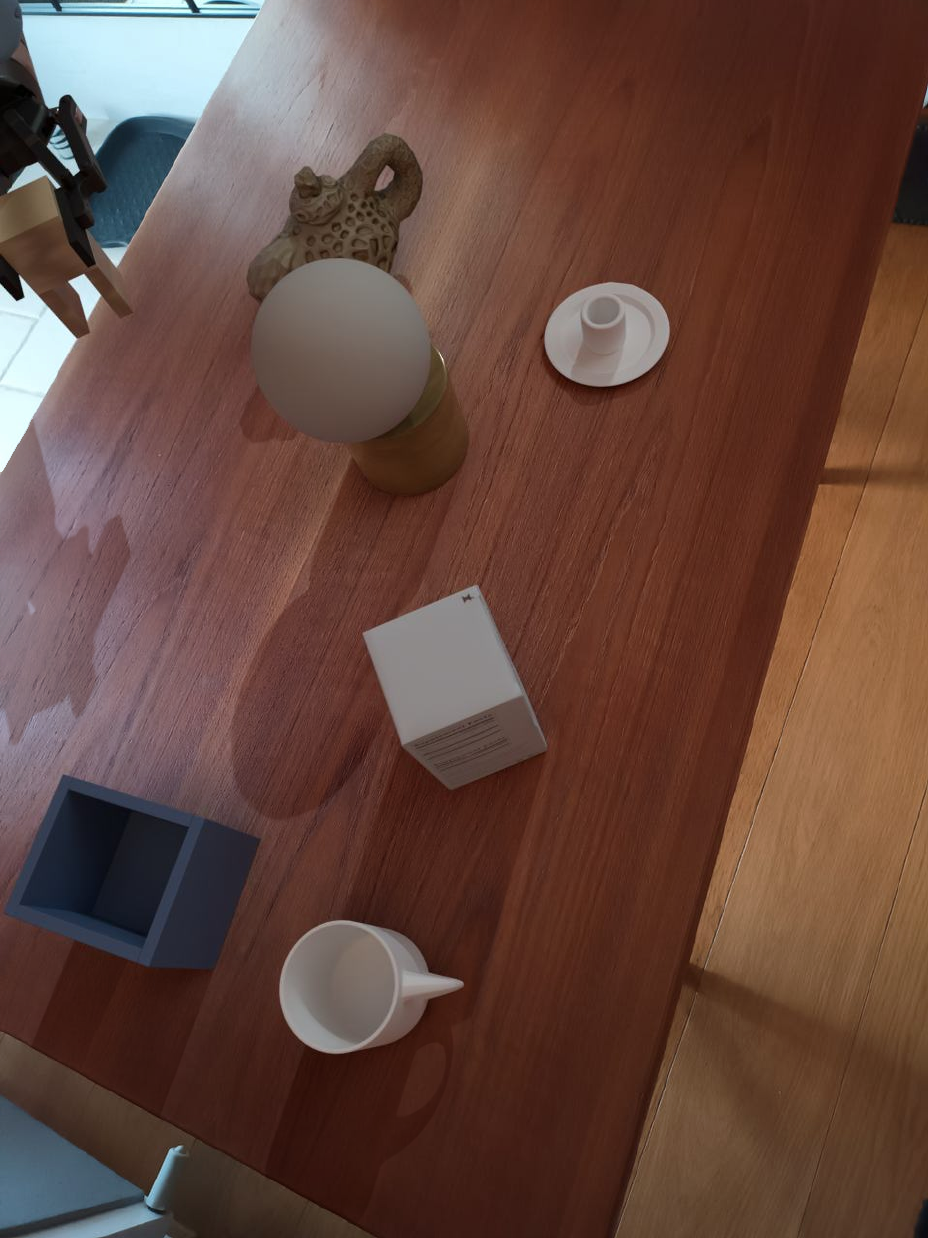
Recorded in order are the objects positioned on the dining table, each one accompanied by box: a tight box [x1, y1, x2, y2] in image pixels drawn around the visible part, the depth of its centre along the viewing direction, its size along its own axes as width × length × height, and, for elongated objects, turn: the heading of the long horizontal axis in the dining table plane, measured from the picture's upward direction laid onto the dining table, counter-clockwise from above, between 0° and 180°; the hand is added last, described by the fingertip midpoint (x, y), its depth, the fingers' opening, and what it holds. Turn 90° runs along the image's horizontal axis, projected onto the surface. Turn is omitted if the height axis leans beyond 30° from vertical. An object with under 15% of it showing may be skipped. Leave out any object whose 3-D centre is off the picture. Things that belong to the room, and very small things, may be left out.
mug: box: [278, 919, 465, 1055], centre depth 70 cm, size 9×12×11 cm
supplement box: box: [361, 584, 548, 791], centre depth 74 cm, size 10×9×17 cm
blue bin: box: [3, 773, 261, 970], centre depth 77 cm, size 13×11×11 cm
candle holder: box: [543, 281, 671, 388], centre depth 91 cm, size 12×12×4 cm
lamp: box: [250, 258, 470, 497], centre depth 81 cm, size 15×14×25 cm
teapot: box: [246, 132, 424, 307], centre depth 95 cm, size 21×12×15 cm, turn 129°
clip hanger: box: [0, 174, 134, 340], centre depth 83 cm, size 6×5×12 cm
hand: (46, 270), depth 77 cm, fingers closed on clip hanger, 6 cm apart
